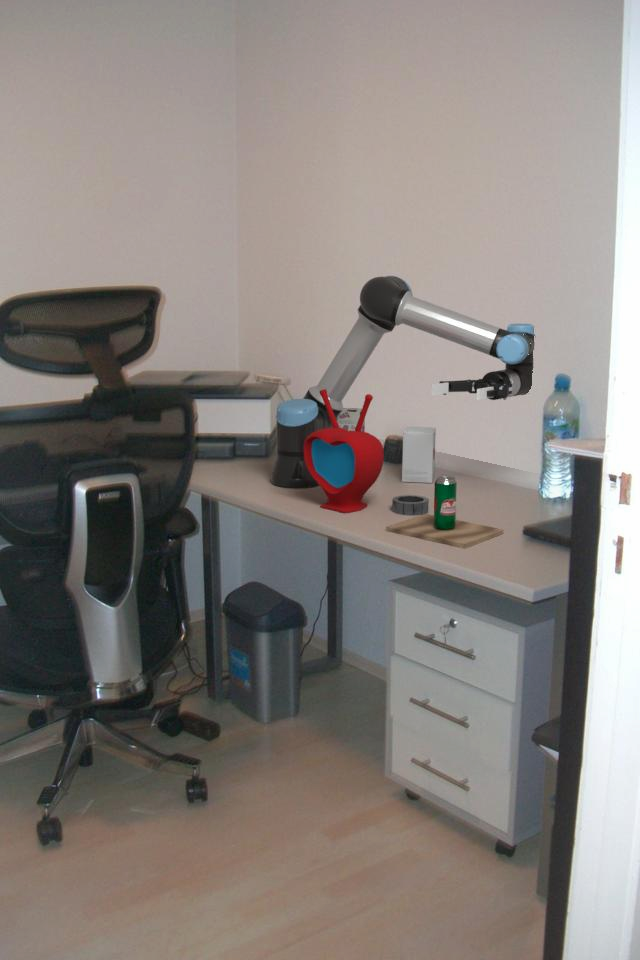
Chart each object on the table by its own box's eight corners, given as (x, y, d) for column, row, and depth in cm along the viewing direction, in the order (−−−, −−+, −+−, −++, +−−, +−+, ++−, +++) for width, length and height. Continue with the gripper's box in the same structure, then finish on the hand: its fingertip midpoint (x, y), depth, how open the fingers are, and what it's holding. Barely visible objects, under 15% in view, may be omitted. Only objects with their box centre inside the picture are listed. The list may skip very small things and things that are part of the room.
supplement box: (432, 483, 272) (433, 432, 269) (401, 482, 274) (402, 431, 271) (435, 477, 281) (436, 427, 278) (405, 475, 283) (405, 426, 280)
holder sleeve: (385, 511, 242) (385, 499, 241) (406, 504, 248) (406, 493, 248) (414, 517, 236) (414, 505, 235) (435, 510, 242) (435, 498, 242)
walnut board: (386, 530, 224) (386, 526, 224) (425, 517, 235) (426, 513, 235) (465, 548, 209) (465, 544, 209) (503, 533, 221) (503, 529, 221)
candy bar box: (365, 458, 309) (365, 408, 306) (361, 461, 305) (361, 410, 301) (332, 456, 312) (332, 406, 309) (327, 459, 308) (327, 409, 304)
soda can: (441, 531, 219) (442, 481, 216) (429, 526, 223) (430, 476, 221) (459, 529, 221) (461, 478, 219) (447, 524, 226) (448, 474, 223)
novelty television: (299, 504, 249) (298, 390, 242) (333, 496, 258) (333, 385, 251) (358, 518, 234) (359, 397, 228) (392, 509, 243) (393, 392, 237)
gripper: (540, 403, 247) (497, 412, 231) (460, 394, 263) (414, 402, 248) (542, 374, 245) (498, 381, 230) (461, 367, 261) (415, 373, 246)
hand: (454, 392), depth 239 cm, fingers open, 13 cm apart
